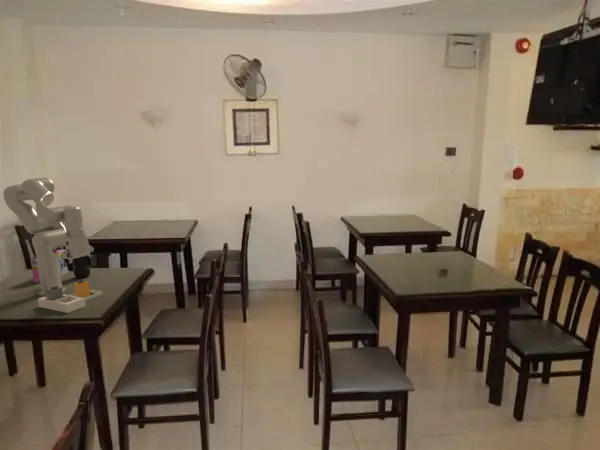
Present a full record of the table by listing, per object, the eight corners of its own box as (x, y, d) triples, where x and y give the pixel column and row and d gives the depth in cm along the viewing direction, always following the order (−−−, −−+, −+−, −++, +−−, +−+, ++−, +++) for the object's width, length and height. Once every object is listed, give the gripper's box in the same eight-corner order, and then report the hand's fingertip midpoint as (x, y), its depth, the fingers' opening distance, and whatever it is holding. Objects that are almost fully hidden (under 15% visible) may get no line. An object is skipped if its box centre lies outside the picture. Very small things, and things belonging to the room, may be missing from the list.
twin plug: (49, 306, 210) (46, 287, 209) (57, 303, 214) (55, 285, 213) (55, 307, 209) (52, 289, 207) (64, 304, 212) (61, 286, 211)
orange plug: (76, 299, 221) (73, 281, 219) (83, 296, 224) (81, 279, 223) (82, 300, 219) (80, 282, 217) (90, 297, 223) (88, 280, 221)
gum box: (63, 270, 276) (60, 248, 274) (75, 270, 274) (72, 248, 272) (33, 282, 253) (29, 258, 251) (45, 282, 251) (42, 258, 249)
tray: (63, 302, 218) (62, 297, 218) (87, 293, 230) (86, 289, 229) (79, 305, 213) (78, 300, 213) (102, 296, 225) (102, 291, 225)
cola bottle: (86, 279, 256) (80, 226, 250) (71, 279, 256) (64, 226, 250) (93, 274, 264) (87, 223, 259) (78, 274, 264) (72, 223, 259)
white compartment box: (35, 308, 212) (33, 297, 211) (53, 302, 220) (51, 291, 219) (68, 315, 201) (67, 303, 200) (86, 308, 209) (84, 297, 208)
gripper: (64, 237, 206) (69, 273, 209) (96, 230, 221) (100, 264, 224) (53, 236, 210) (58, 272, 213) (85, 229, 225) (90, 263, 228)
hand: (80, 268), depth 219 cm, fingers open, 9 cm apart
